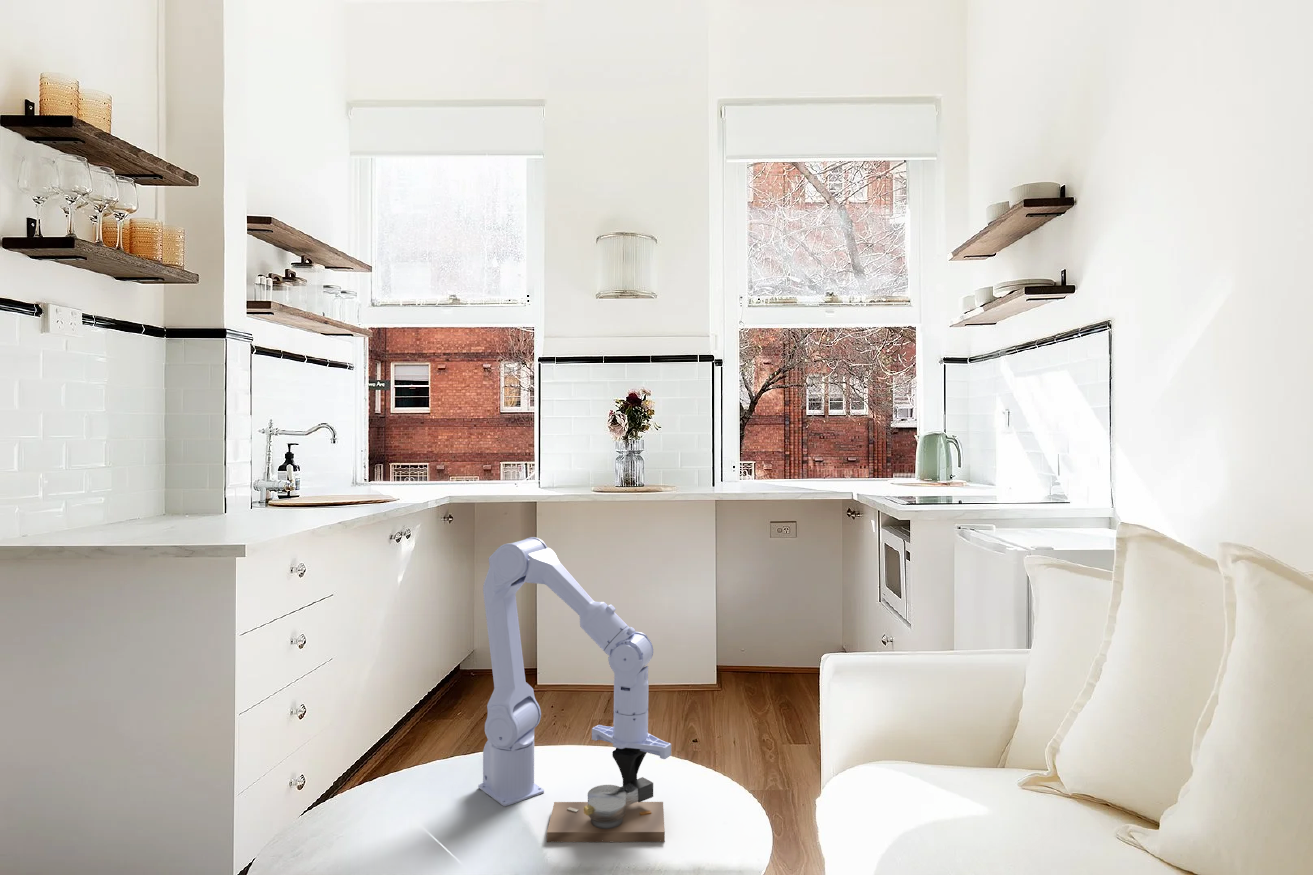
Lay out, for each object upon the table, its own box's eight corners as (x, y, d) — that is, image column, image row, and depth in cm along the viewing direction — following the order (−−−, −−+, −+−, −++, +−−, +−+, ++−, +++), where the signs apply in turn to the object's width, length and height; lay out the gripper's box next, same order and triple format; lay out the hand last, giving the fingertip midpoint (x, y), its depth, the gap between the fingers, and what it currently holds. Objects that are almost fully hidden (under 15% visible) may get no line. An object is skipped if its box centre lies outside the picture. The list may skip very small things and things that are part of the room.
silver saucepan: (597, 828, 116) (597, 808, 116) (574, 813, 120) (574, 794, 120) (659, 802, 124) (659, 784, 124) (636, 789, 128) (636, 771, 128)
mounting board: (554, 810, 126) (554, 795, 126) (663, 810, 127) (663, 795, 127) (546, 841, 117) (547, 825, 117) (664, 841, 117) (664, 825, 117)
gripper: (581, 707, 127) (580, 789, 127) (655, 726, 119) (654, 812, 119) (605, 695, 133) (605, 773, 133) (678, 712, 125) (677, 794, 125)
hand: (630, 790), depth 127 cm, fingers closed
